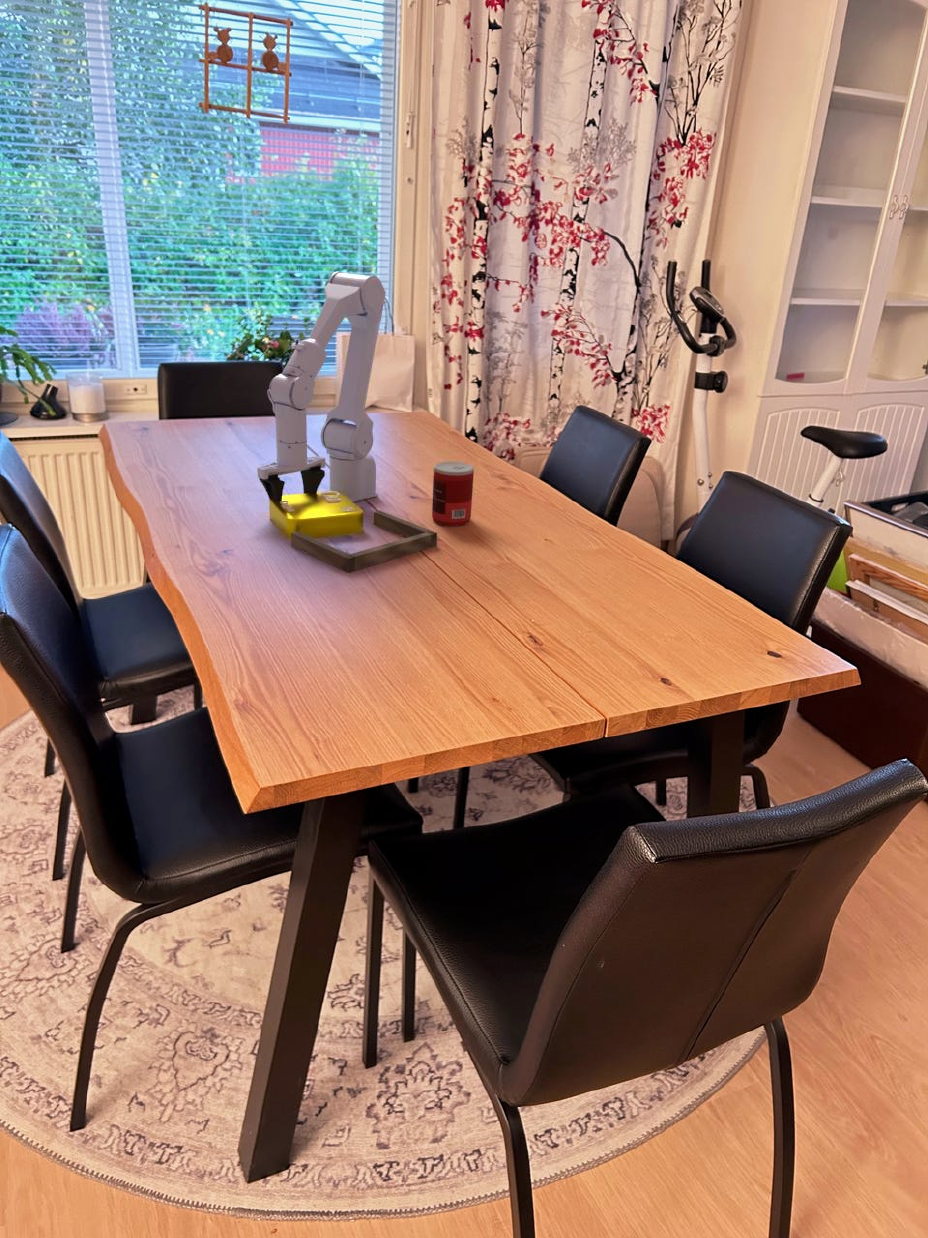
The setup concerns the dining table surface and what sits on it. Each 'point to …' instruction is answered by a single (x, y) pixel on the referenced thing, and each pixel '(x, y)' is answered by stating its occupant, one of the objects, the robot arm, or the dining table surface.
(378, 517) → the walnut holder
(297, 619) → the dining table surface
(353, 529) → the element tile
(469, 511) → the canned food
